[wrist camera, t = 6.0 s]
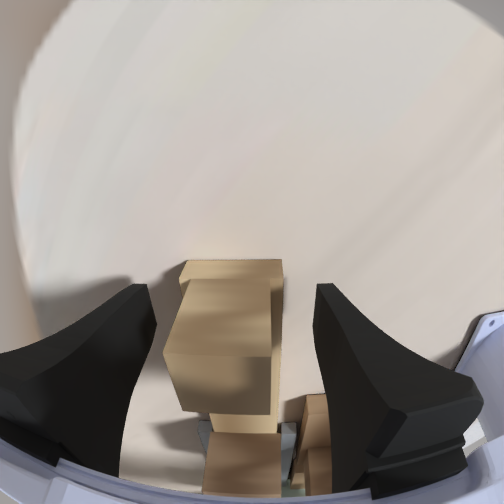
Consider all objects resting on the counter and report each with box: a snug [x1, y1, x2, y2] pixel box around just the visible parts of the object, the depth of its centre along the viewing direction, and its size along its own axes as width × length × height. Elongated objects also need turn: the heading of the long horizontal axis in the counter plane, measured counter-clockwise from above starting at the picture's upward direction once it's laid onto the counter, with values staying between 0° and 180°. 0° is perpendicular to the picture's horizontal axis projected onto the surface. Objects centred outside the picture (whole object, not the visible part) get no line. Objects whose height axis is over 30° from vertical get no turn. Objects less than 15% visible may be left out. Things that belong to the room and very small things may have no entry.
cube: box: [202, 431, 281, 498], centre depth 15 cm, size 4×4×4 cm
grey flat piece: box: [198, 420, 305, 489], centre depth 20 cm, size 13×13×2 cm
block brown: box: [296, 394, 332, 496], centre depth 16 cm, size 4×8×6 cm, turn 2°
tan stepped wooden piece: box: [163, 259, 283, 433], centre depth 14 cm, size 4×16×6 cm, turn 2°
